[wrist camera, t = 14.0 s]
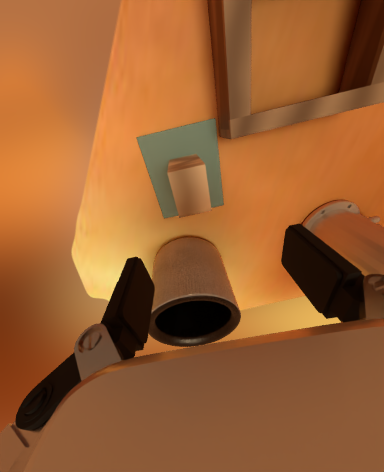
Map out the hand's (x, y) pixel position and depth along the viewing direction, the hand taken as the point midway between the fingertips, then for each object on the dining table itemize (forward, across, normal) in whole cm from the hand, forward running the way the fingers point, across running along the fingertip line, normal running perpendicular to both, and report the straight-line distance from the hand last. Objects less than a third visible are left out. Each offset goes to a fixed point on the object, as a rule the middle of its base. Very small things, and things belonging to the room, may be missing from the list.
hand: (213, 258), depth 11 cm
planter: (+22, +5, +19) cm, 30 cm away
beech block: (+21, +1, -1) cm, 21 cm away
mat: (+22, +1, -1) cm, 22 cm away
